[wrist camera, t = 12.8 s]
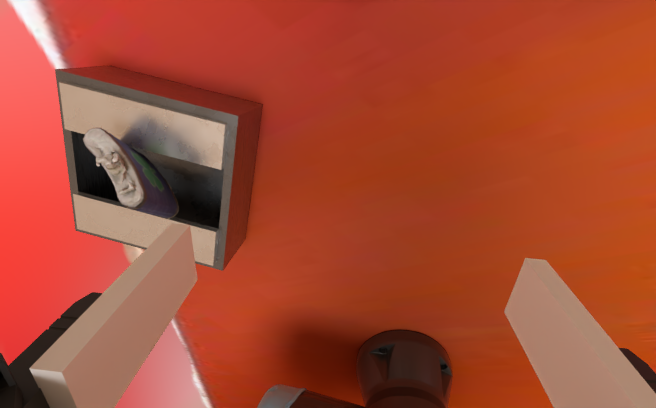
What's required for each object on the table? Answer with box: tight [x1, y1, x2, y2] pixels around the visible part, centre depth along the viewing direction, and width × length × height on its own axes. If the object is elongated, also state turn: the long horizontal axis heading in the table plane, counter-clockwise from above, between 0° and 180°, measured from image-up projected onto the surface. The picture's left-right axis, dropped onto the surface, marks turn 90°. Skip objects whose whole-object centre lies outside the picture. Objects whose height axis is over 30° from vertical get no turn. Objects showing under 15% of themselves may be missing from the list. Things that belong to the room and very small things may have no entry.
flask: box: [83, 127, 179, 219], centre depth 36 cm, size 9×3×11 cm
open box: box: [55, 66, 263, 270], centre depth 43 cm, size 20×20×9 cm
